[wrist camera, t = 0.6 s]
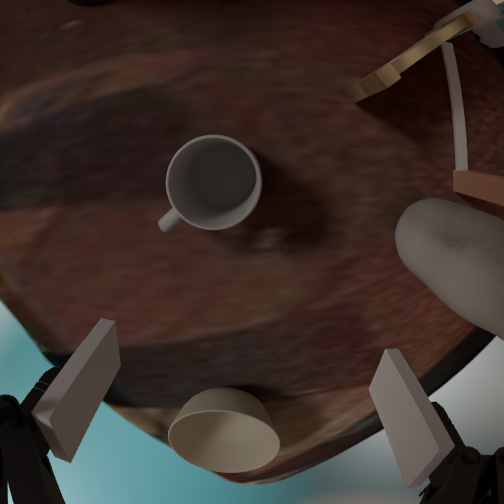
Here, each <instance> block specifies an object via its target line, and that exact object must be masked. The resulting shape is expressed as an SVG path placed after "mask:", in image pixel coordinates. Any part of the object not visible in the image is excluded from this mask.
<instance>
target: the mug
mask: <svg viewBox="0 0 504 504" xmlns="http://www.w3.org/2000/svg"><path fill="white" fill-rule="evenodd" d="M166 189H167V194H168V198H169V200H170V203H171V205H172V206H173V208H172V209H171V210H170V211H169V212H168V213H167V214H165V215H164V216H163V217H162V218H161V219H160V221H159V223H158V225H159V227H160V229H161V230H162V231H164V232H168V231H170V230H171V229H172V228H173V227H174V226H176V225H177V224H178V223H179V222H180V221H181V220H182V219H184V220H185V221H186V222H188V223H189V224H191V225H193V226H195V227H198V228H201V229H206V230H222V229H227V228H230V227H233V226H235V225H237V224H239V223H240V222H241V221H243V220H244V219H245V218H246V217H248V216H249V214H250V213H251V212H252V211H253V209H254V208H255V206H256V205H257V202H258V200H259V198H260V194H261V190H262V174H261V169H260V165H259V162H258V159H257V158H256V156H255V154H254V153H253V152H252V151H251V150H250V149H249V148H248V147H247V146H246V145H244V144H242V143H241V142H239V141H237V140H235V139H233V138H231V137H227V136H223V135H205V136H202V137H198V138H196V139H193V140H191V141H190V142H188V143H187V144H185V145H184V146H183V147H182V148H181V149H180V150H179V151H178V152H177V153H176V154H175V156H174V157H173V159H172V161H171V163H170V165H169V167H168V171H167V176H166Z"/></svg>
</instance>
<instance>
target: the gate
mask: <svg viewBox="0 0 504 504" xmlns="http://www.w3.org/2000/svg"><path fill="white" fill-rule="evenodd" d="M478 23H479V20H478V19H477V18H476V16H475V15H474V14H473V12H472V11H471V10H468V11H466V12H464V13H462V14H460V15H458V16H457V17H455V18H453V19H451V20H449V21H448V22H446V23H444V24H442V25H441V26H439V27H437V28H435V29H434V30H432V31H430V32H429V33H427V34H426V35H424V36H425V38H424V39H422V40H421V41H419V42H418V43H416V44H415V45H413V46H412V47H410V48H409V49H407V50H406V51H404V52H403V53H402V54H400V55H399V56H397V57H396V58H394V59H393V60H391V61H390V62H389V63H387V64H385V65H384V66H382V67H381V68H379V69H377V70H376V71H374V72H373V73H371V74H369V75H368V76H366V77H365V78H363V79H362V80H360V81H358V82H357V83H355V84H354V85H353V86H351V87H350V88H349V89H347V90H346V91H345V92H346V93H347V94H348V95H349V96H350V98H351V99H352V100H353V101H354V102H355V103H356V102H358V101H360V100H362V99H364V98H366V97H369V96H371V95H373V94H375V93H378V92H380V91H382V90H384V89H387V88H388V87H390V86H391V85H392V84H394V83H395V82H396V81H398V80H399V79H400V78H401V76H400V75H399V74H400V73H401V72H403V71H404V70H405V69H407V68H408V67H410V66H411V65H412V64H414V63H415V62H417V61H418V60H419V59H421V58H422V57H423V56H425V55H426V54H428V53H429V52H430V51H432V50H433V49H435V48H436V47H438V46H439V45H440V44H442V43H443V42H445V41H446V40H448V39H449V38H451V37H452V36H454V35H456V34H458V33H460V32H462V31H464V30H466V29H469V28H471V27H473V26H475V25H476V24H478Z"/></svg>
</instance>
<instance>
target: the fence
mask: <svg viewBox="0 0 504 504" xmlns="http://www.w3.org/2000/svg"><path fill="white" fill-rule="evenodd" d="M468 10H471V11H472V12H473V14H474V15H475V16H476V18H477V19H478V20H479V23H478V24H476V25H475V26H473V27H471V28H469V29H466V30H464V31H462V32H460V33H458V34H456V35H454V36H452V37H451V38H449V39H448V40H450V39H452V38H454V37H456V36H458V35H461V34H463V33H465V32H467V31H469V30H472V29H474V28H476V27H479V26H481V25H483V24H486V23H488V22H490V21H493V20H495V19H498V18H499V16H500V13H499V10H498V8H497V6H496V4H495V3H494V2H493V1H492V0H473V1H471V2H469V3H467V4H466V5H464V6H462V7H460V8H459V9H457V10H455V11H453V12H452V13H450V14H448V15H447V16H445V17H443V18H442V19H440V20H438V21H437V22H435V23H434V25H433V29H435V28H437V27H439V26H441V25H442V24H444V23H446V22H448V21H449V20H451V19H453V18H455V17H457V16H458V15H460V14H462V13H464V12H466V11H468ZM448 40H446V41H448ZM440 45H441V49H442V54H443V59H444V64H445V69H446V75H447V81H448V87H449V94H450V101H451V110H452V119H453V129H454V143H455V163H456V170H453V191H455V192H458V193H462V194H465V195H469V196H472V197H476V198H479V199H482V200H486V201H489V202H492V203H495V204H498V205H501V206H504V177H502V176H497V175H492V174H487V173H481V172H476V171H470V170H468V161H467V141H466V128H465V117H464V108H463V100H462V93H461V86H460V80H459V74H458V69H457V64H456V59H455V54H454V49H453V45H452V43H449V42H443V43H442V44H440Z"/></svg>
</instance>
